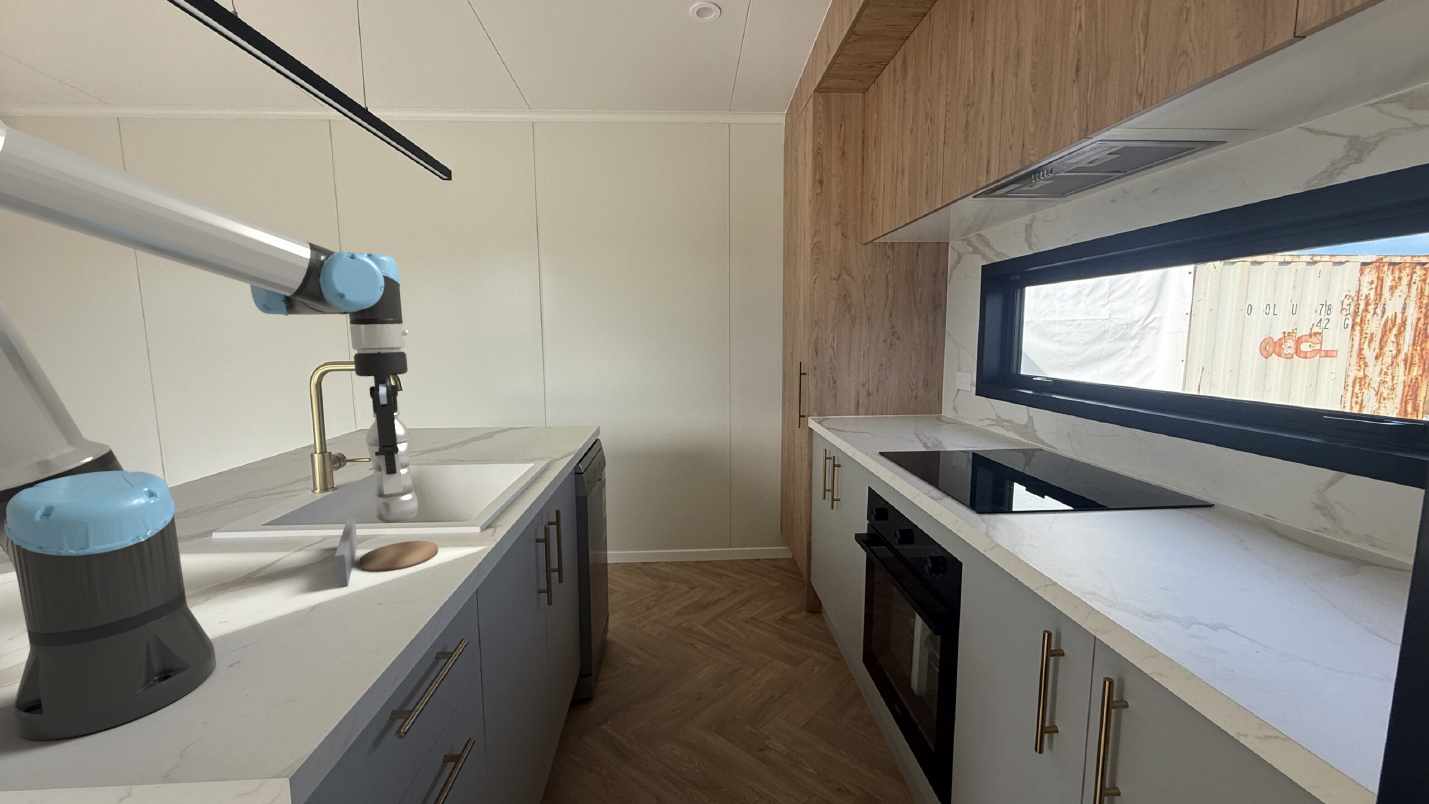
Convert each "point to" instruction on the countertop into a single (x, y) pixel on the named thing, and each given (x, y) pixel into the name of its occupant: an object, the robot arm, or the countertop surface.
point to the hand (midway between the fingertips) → (394, 487)
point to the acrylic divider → (346, 553)
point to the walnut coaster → (398, 556)
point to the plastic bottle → (405, 502)
